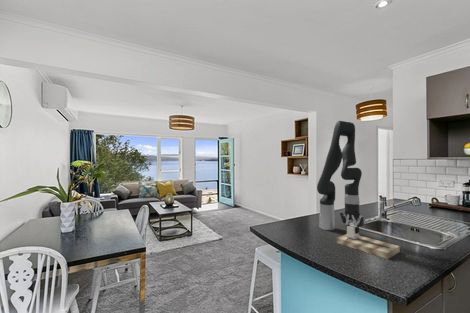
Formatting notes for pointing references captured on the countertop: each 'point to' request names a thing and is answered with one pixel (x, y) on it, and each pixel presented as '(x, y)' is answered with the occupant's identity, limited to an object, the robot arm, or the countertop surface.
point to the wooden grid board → (370, 246)
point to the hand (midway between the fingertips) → (352, 232)
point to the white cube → (352, 232)
